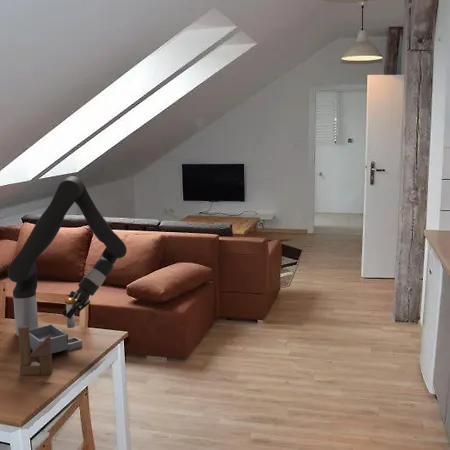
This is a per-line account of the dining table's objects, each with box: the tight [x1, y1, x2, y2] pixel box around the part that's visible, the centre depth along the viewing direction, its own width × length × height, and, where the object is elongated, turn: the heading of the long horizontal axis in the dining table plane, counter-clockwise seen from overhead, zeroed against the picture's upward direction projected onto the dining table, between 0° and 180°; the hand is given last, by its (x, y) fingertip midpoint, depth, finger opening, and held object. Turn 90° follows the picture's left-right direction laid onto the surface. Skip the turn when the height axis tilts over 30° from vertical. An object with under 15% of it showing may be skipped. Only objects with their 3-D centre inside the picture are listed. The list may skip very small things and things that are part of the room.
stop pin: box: [64, 296, 76, 329], centre depth 210 cm, size 4×4×12 cm
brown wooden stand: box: [18, 325, 54, 377], centre depth 187 cm, size 4×11×18 cm, turn 96°
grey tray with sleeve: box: [29, 323, 83, 363], centre depth 207 cm, size 15×19×9 cm
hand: (65, 316), depth 209 cm, fingers closed on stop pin, 3 cm apart
